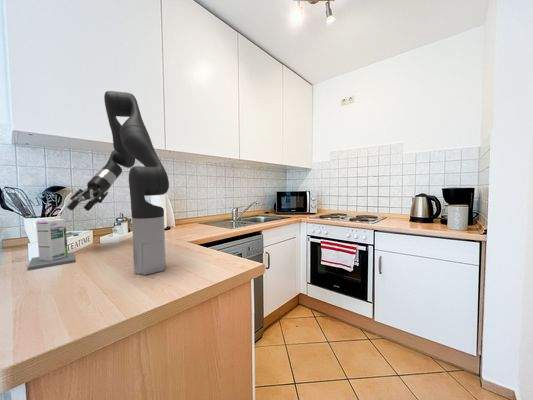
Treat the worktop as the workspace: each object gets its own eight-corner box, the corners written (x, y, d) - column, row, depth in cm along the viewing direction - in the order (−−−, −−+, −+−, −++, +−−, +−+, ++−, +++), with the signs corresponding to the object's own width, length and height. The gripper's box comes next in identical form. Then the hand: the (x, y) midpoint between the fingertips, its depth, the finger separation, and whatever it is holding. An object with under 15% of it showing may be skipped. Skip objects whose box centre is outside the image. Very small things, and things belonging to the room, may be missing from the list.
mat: (75, 262, 82) (75, 259, 82) (27, 270, 74) (27, 267, 74) (74, 254, 93) (74, 251, 93) (32, 260, 85) (32, 257, 85)
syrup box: (51, 261, 81) (48, 220, 80) (38, 260, 82) (35, 220, 81) (68, 256, 86) (66, 218, 85) (55, 255, 87) (53, 218, 87)
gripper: (83, 175, 101) (56, 203, 91) (109, 174, 98) (84, 203, 88) (95, 187, 107) (71, 214, 96) (120, 187, 104) (98, 215, 93)
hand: (77, 209), depth 92 cm, fingers open, 8 cm apart
